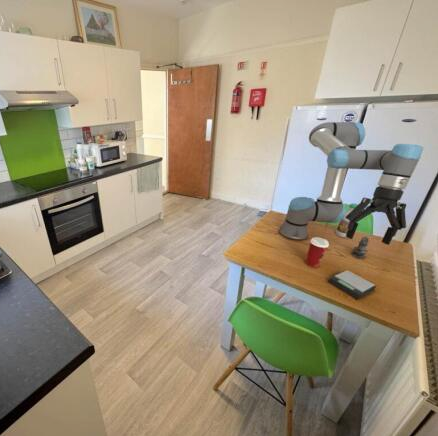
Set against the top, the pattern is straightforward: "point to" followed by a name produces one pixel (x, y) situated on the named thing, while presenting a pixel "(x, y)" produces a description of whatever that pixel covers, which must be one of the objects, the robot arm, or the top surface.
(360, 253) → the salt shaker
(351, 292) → the scale
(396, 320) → the top surface
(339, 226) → the milk bottle
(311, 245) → the paper cup
